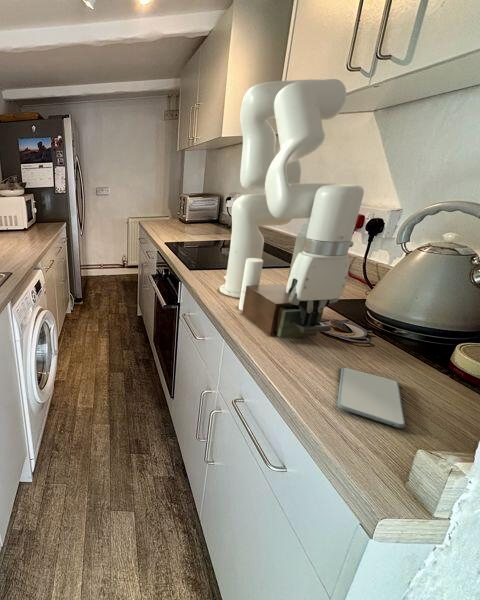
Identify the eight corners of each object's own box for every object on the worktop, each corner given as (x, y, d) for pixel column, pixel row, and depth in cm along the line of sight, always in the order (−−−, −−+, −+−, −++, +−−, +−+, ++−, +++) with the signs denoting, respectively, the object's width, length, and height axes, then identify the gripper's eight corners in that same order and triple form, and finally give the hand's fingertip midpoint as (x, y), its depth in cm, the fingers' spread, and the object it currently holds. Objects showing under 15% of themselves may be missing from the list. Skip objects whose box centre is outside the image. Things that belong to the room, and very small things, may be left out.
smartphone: (398, 380, 59) (406, 426, 48) (397, 385, 59) (404, 431, 48) (341, 365, 64) (337, 404, 53) (340, 370, 64) (336, 409, 54)
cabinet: (309, 333, 79) (317, 301, 75) (269, 335, 78) (276, 303, 75) (276, 312, 91) (282, 283, 88) (241, 313, 91) (246, 285, 88)
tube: (240, 311, 93) (248, 261, 87) (237, 305, 97) (244, 257, 91) (256, 312, 92) (265, 261, 86) (252, 306, 96) (260, 258, 90)
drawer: (332, 346, 71) (340, 318, 68) (293, 348, 71) (300, 320, 68) (283, 314, 87) (288, 291, 85) (251, 316, 87) (255, 293, 85)
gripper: (346, 242, 70) (326, 318, 76) (279, 245, 69) (264, 321, 76) (377, 249, 63) (351, 332, 69) (302, 253, 62) (284, 335, 69)
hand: (306, 326), depth 73 cm, fingers closed
